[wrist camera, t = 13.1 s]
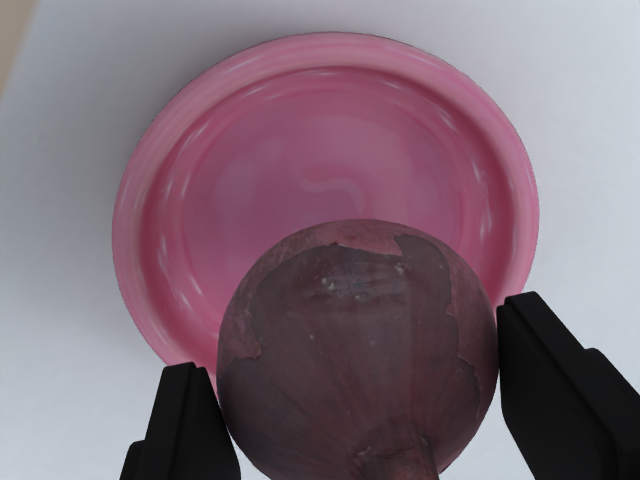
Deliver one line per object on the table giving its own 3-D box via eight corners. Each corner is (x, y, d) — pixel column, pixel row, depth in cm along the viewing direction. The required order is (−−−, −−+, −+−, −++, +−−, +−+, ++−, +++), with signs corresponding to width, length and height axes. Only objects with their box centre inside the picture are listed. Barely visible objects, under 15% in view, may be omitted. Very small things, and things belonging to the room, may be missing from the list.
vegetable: (435, 147, 14) (731, 436, 5) (447, 341, 17) (656, 749, 8) (200, 188, 14) (102, 556, 5) (249, 378, 17) (240, 835, 8)
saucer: (577, 167, 19) (631, 201, 16) (361, 413, 23) (375, 475, 20) (263, -72, 15) (263, -82, 12) (69, 272, 19) (34, 324, 16)
